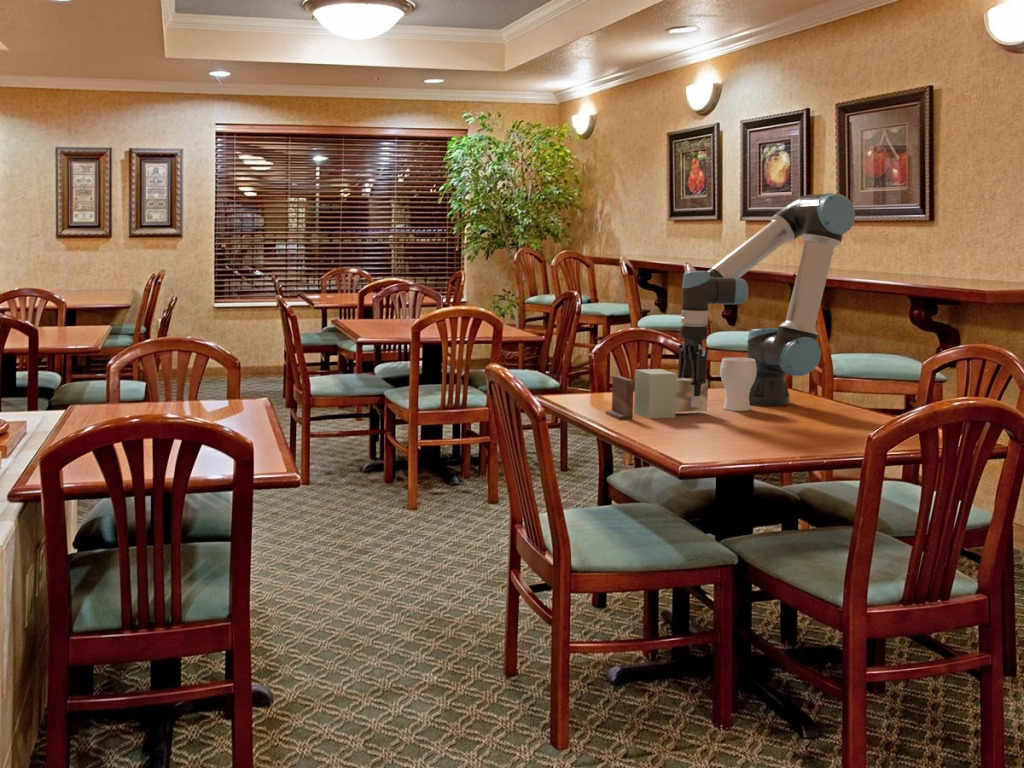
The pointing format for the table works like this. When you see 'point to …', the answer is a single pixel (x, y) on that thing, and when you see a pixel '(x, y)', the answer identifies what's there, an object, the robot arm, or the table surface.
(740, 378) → the cup
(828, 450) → the table surface
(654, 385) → the block
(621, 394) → the wall
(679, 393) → the peg
